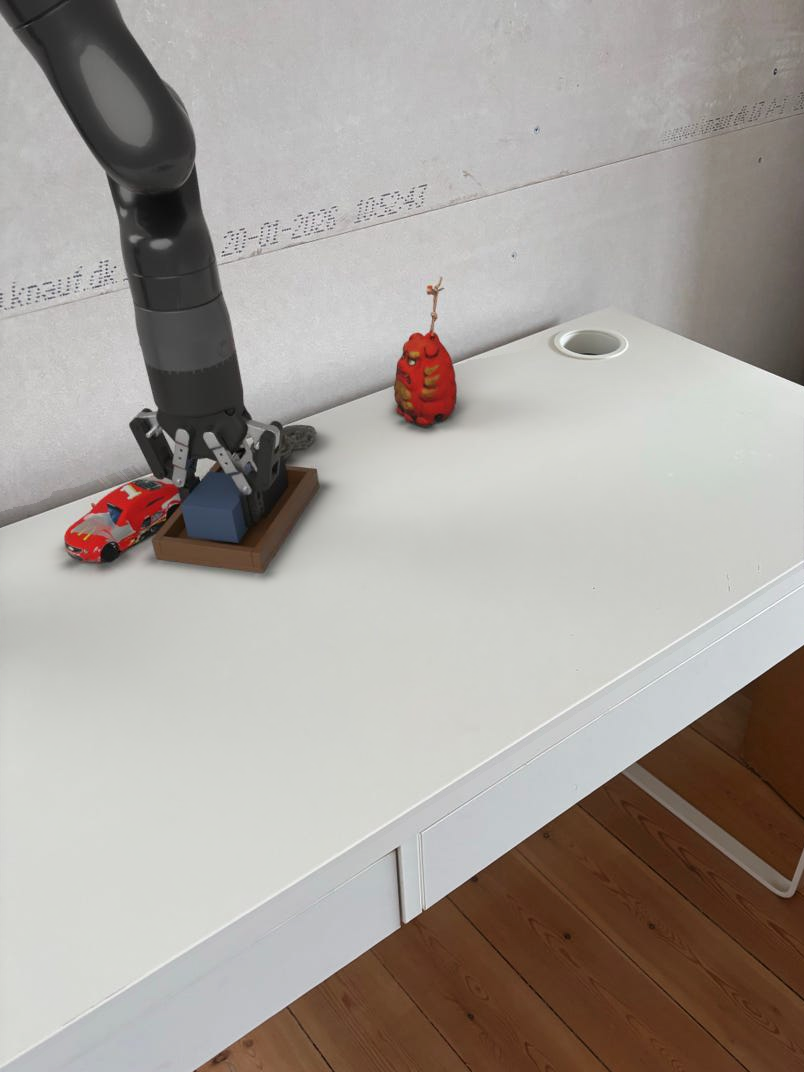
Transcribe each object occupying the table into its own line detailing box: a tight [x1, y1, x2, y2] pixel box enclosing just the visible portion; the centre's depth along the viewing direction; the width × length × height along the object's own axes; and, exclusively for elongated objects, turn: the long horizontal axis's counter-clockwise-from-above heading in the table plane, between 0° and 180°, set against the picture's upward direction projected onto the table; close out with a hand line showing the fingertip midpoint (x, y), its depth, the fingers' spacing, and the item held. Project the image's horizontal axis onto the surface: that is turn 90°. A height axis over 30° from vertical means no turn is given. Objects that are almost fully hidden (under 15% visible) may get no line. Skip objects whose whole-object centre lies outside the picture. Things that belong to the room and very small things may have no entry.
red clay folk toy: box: [393, 276, 458, 428], centre depth 110 cm, size 8×7×15 cm
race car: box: [63, 475, 182, 563], centre depth 96 cm, size 13×5×4 cm, turn 143°
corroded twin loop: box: [249, 424, 317, 460], centre depth 109 cm, size 5×8×1 cm, turn 136°
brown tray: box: [151, 461, 320, 574], centre depth 98 cm, size 11×15×2 cm
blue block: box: [181, 471, 249, 543], centre depth 94 cm, size 5×6×4 cm
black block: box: [220, 452, 289, 518], centre depth 100 cm, size 5×6×4 cm
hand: (225, 518), depth 95 cm, fingers closed on blue block, 5 cm apart
